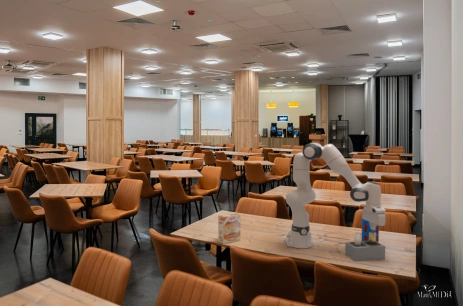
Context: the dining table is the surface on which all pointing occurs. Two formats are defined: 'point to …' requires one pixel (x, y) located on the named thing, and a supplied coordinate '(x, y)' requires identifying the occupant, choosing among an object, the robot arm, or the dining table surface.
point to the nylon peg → (357, 239)
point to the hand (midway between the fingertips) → (372, 229)
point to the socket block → (365, 251)
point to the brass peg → (372, 237)
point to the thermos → (366, 231)
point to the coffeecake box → (229, 228)
